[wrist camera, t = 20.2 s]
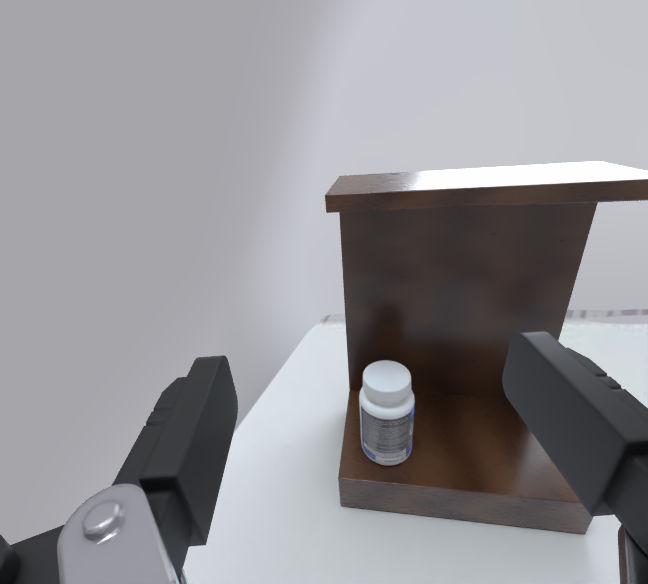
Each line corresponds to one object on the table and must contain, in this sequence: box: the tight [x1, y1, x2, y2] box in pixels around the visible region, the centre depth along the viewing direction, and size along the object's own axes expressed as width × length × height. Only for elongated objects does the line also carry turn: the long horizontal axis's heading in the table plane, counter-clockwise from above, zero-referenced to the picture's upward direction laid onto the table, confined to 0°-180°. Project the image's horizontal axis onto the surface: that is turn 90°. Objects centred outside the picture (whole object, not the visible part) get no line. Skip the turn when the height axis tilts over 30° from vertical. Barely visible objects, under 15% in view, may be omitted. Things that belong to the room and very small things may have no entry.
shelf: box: [325, 161, 648, 534], centre depth 28 cm, size 20×12×27 cm, turn 81°
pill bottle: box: [359, 360, 415, 466], centre depth 30 cm, size 5×5×8 cm
